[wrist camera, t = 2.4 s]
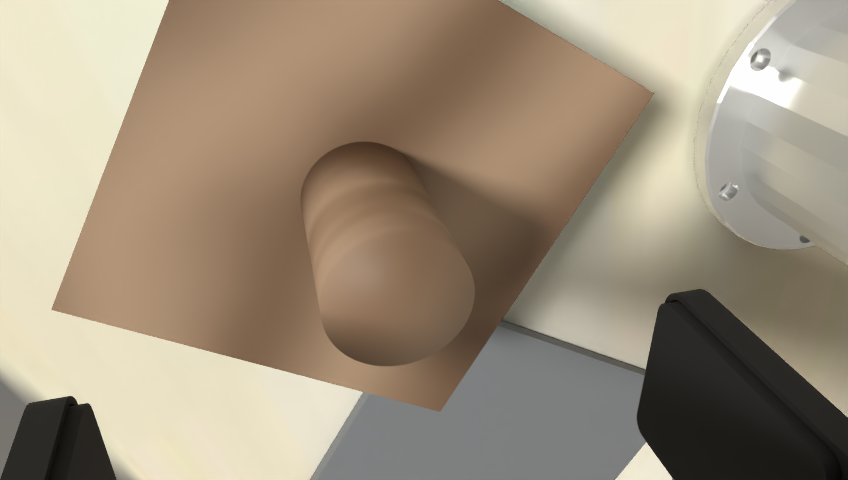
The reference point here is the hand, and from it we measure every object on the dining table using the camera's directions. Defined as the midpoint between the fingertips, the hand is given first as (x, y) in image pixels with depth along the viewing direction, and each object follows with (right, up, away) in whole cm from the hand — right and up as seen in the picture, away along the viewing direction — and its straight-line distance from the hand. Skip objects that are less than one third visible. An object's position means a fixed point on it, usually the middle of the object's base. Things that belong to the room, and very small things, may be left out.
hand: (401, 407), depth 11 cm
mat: (+4, -8, +23) cm, 25 cm away
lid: (-2, +4, +8) cm, 9 cm away
